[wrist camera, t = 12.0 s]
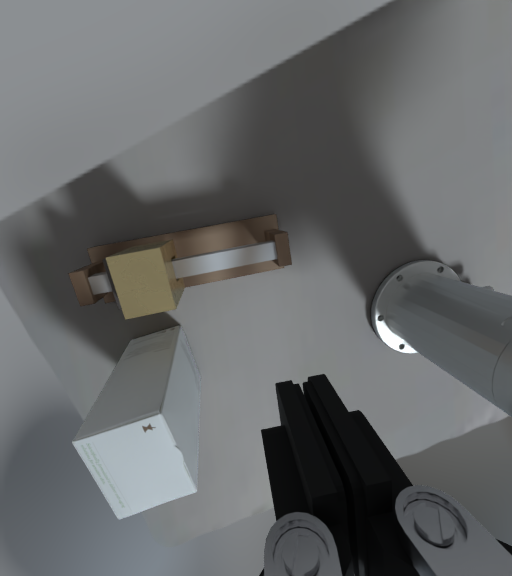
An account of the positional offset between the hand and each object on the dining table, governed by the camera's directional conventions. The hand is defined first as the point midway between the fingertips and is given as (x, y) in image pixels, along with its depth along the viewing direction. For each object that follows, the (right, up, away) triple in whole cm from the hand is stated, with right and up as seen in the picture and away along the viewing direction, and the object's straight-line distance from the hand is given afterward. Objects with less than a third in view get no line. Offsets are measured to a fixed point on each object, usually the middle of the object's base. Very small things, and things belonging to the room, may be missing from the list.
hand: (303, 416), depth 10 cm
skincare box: (-12, -5, +26) cm, 29 cm away
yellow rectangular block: (-11, +6, +19) cm, 23 cm away
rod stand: (-9, +8, +23) cm, 26 cm away
